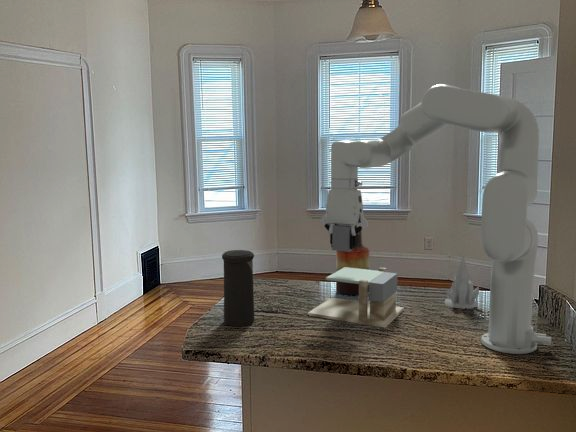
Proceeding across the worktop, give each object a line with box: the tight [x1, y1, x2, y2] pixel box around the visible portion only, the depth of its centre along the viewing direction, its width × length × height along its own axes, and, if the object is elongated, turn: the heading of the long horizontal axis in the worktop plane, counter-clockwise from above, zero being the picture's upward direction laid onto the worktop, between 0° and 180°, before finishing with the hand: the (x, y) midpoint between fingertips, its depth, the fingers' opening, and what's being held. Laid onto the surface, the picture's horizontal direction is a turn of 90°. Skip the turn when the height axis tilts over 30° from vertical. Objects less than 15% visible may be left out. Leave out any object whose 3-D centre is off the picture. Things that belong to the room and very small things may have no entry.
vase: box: [335, 231, 371, 297], centre depth 181 cm, size 11×11×20 cm
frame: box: [307, 267, 405, 328], centre depth 160 cm, size 23×18×12 cm
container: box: [221, 249, 255, 327], centre depth 152 cm, size 9×9×20 cm
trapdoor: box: [325, 267, 398, 302], centre depth 158 cm, size 16×14×5 cm
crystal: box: [444, 256, 480, 310], centre depth 168 cm, size 10×13×15 cm
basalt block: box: [331, 224, 355, 252], centre depth 159 cm, size 5×5×7 cm
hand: (343, 247), depth 160 cm, fingers closed on basalt block, 5 cm apart
